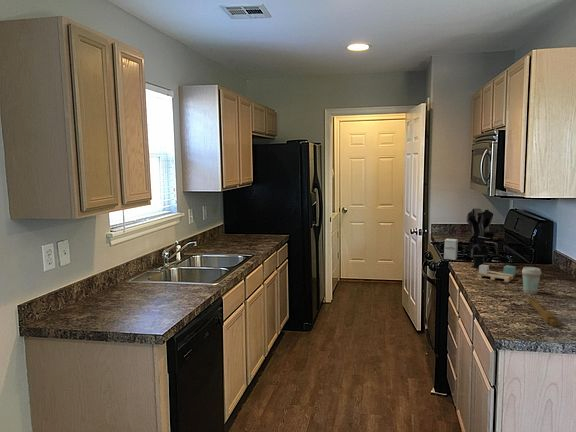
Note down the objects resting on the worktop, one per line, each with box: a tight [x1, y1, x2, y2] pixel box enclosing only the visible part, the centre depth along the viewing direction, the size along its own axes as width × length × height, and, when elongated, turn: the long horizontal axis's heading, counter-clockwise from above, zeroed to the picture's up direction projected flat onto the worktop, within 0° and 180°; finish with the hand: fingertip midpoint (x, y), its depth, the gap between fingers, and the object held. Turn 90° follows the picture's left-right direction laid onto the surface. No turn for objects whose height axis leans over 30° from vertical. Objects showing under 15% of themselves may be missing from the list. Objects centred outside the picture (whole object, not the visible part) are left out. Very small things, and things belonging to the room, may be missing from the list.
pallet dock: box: [476, 270, 514, 283], centre depth 259 cm, size 9×16×2 cm, turn 49°
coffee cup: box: [521, 266, 542, 295], centre depth 231 cm, size 8×8×12 cm
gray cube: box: [478, 264, 490, 274], centre depth 261 cm, size 4×4×4 cm
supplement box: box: [443, 237, 459, 261], centre depth 308 cm, size 7×7×13 cm
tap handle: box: [528, 298, 559, 327], centre depth 200 cm, size 3×3×30 cm
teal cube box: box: [502, 264, 517, 277], centre depth 265 cm, size 5×5×5 cm
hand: (489, 252), depth 259 cm, fingers open, 9 cm apart
